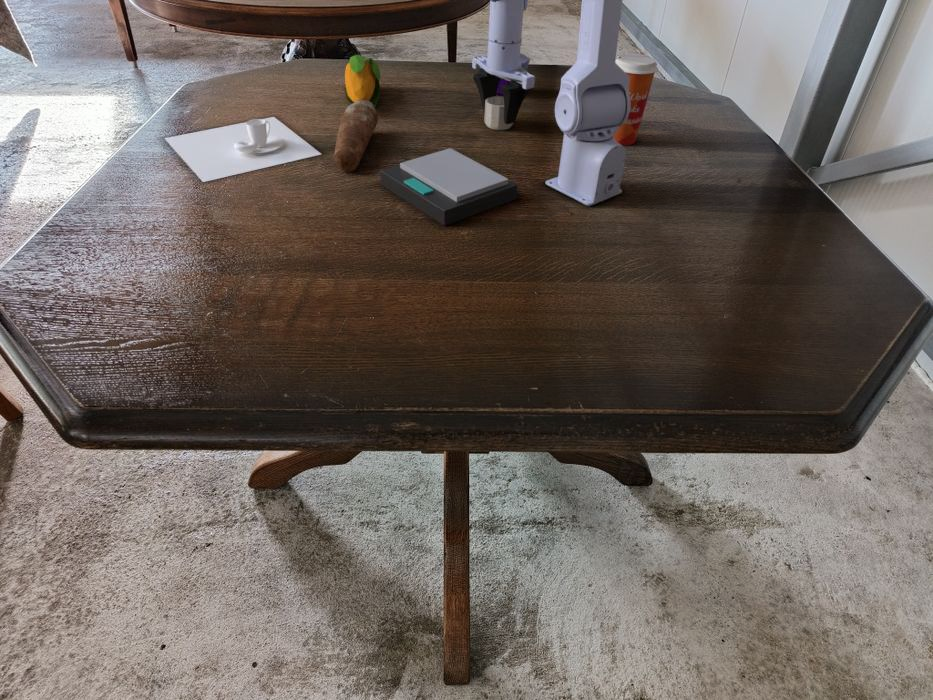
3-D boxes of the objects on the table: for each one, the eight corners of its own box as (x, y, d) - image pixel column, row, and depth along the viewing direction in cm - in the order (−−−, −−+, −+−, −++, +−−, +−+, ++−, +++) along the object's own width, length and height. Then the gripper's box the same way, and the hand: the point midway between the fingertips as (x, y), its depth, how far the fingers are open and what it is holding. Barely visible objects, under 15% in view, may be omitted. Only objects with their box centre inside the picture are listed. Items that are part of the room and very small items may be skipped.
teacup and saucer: (241, 160, 102) (236, 136, 100) (224, 144, 107) (219, 120, 105) (291, 149, 107) (288, 125, 104) (273, 133, 111) (269, 110, 109)
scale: (516, 199, 96) (518, 179, 94) (444, 226, 89) (444, 205, 86) (450, 163, 105) (451, 144, 103) (381, 185, 98) (380, 165, 96)
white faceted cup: (518, 126, 118) (520, 102, 115) (497, 133, 115) (499, 108, 113) (499, 118, 121) (501, 94, 118) (478, 123, 119) (479, 99, 116)
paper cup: (597, 144, 113) (611, 62, 104) (600, 129, 119) (614, 50, 110) (641, 150, 112) (659, 67, 103) (642, 134, 117) (660, 55, 108)
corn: (377, 45, 128) (379, 76, 113) (382, 84, 133) (384, 118, 118) (341, 48, 128) (338, 80, 113) (347, 86, 133) (345, 122, 118)
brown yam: (379, 130, 114) (378, 99, 111) (361, 176, 100) (359, 142, 96) (345, 128, 114) (342, 97, 111) (322, 174, 100) (318, 139, 96)
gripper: (550, 46, 106) (541, 125, 115) (494, 27, 115) (489, 102, 124) (520, 52, 103) (513, 133, 112) (464, 32, 111) (462, 109, 120)
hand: (499, 118), depth 117 cm, fingers closed on white faceted cup, 5 cm apart
